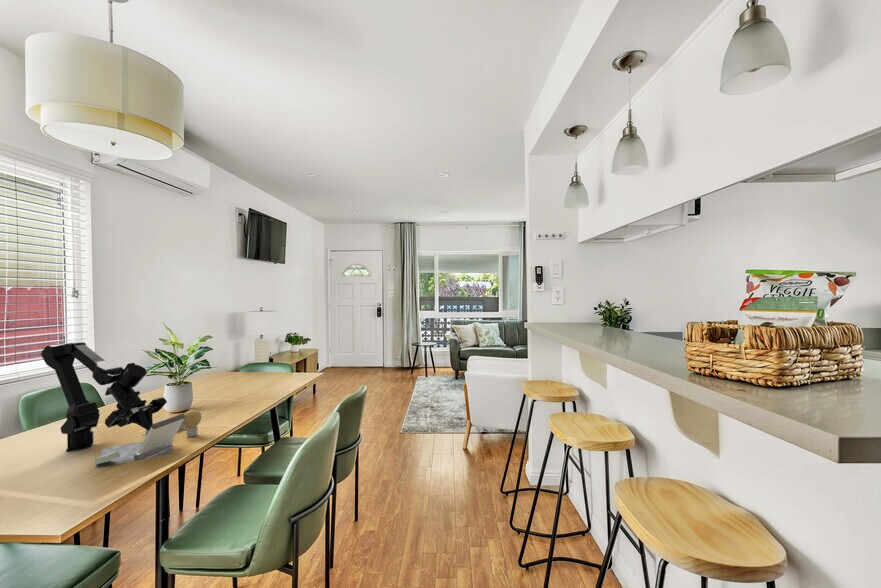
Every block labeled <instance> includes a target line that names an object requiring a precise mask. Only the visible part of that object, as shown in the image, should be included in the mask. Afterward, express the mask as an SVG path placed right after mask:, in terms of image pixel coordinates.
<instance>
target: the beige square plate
mask: <svg viewBox="0 0 881 588" xmlns="http://www.w3.org/2000/svg"><path fill="white" fill-rule="evenodd" d="M184 414H185V413H180V414H178V415H175V416H173V417H169V418H166V419H164V420H161V421H158V422H156V423H153V424H152V425H151V428H150V430H149V432H148V434H147V436H145V438H144V440H143V441H144V442H143V444H142V446H141V447H140V449H139V451H138V452H139V453H140V454H142V453H144V452H147V451H149V450H152V449H154V448H156V447H159V446H161V445H164V444H166V443H168V442H171V441H172V442H173V441H174V438H175V437H176V434H177V433H178V432H179V431H178V429H179V427H180V425H181V423H182V422H183V420H184V418H185V415H184Z"/></svg>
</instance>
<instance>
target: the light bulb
mask: <svg viewBox="0 0 881 588" xmlns="http://www.w3.org/2000/svg"><path fill="white" fill-rule="evenodd" d="M183 414H184V415H185V418H184V420H183V424H184V425H185V426H186V427H187V428H185V429H186V432H185V433H186V436H187V437H189V438H192V436H193V437H196V436H197V435H198V434H199V432H198V425H199V424H200V423H201V420H202V413H201V412H200V411H199V410H198V409H197V410H196V409H190V410H188V411H186V412H184V413H183ZM195 435H196V436H195Z"/></svg>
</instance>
